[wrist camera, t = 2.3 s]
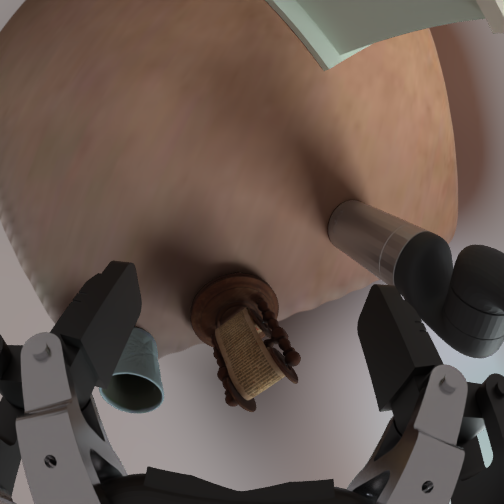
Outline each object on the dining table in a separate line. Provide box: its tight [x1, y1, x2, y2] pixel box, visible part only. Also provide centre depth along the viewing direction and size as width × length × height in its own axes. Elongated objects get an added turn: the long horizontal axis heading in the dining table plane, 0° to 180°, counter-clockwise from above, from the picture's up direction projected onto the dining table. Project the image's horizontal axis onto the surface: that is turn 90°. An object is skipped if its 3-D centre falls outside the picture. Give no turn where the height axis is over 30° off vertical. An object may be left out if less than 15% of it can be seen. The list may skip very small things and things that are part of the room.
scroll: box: [191, 272, 301, 412], centre depth 39 cm, size 15×15×20 cm
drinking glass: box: [99, 327, 164, 413], centre depth 40 cm, size 10×10×12 cm
